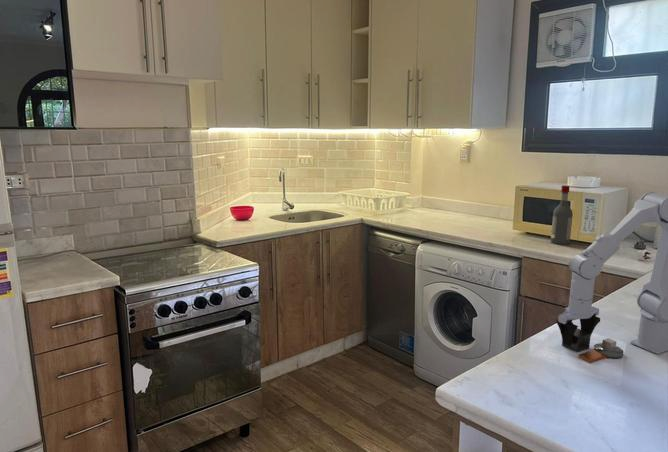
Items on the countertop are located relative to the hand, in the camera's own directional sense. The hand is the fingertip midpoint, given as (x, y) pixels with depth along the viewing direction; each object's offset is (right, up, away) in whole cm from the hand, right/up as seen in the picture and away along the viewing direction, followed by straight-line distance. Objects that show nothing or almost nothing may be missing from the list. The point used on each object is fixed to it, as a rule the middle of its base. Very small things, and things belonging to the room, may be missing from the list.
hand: (575, 342), depth 140 cm
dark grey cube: (0, -1, 0) cm, 1 cm away
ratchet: (+5, -3, -5) cm, 7 cm away
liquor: (+50, +24, +120) cm, 132 cm away
